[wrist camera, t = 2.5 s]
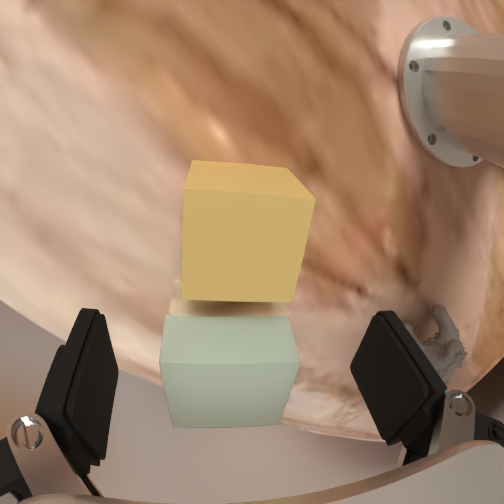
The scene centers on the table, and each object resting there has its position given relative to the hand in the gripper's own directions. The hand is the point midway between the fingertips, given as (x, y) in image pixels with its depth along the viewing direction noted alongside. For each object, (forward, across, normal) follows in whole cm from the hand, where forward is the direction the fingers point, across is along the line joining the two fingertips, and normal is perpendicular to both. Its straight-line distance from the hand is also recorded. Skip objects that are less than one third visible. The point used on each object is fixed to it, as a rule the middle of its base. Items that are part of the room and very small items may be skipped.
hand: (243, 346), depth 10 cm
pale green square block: (+8, -1, +10) cm, 12 cm away
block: (+12, -1, -1) cm, 12 cm away
